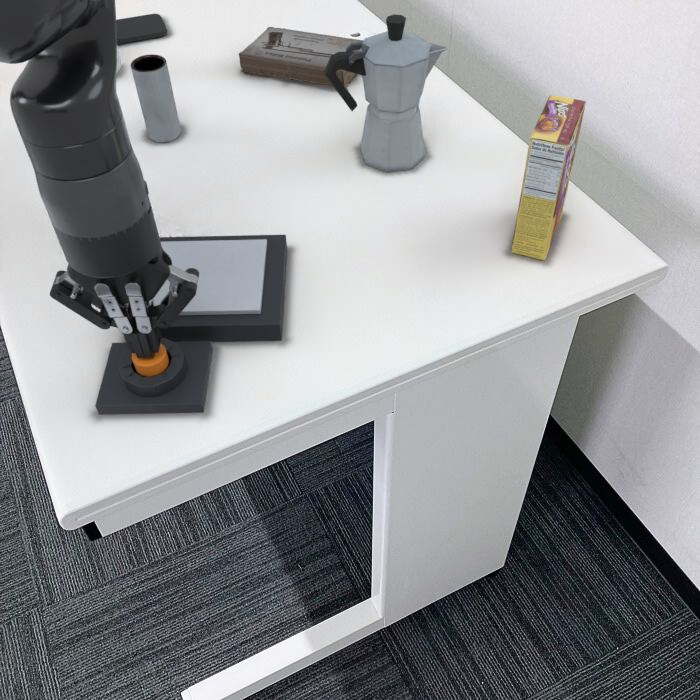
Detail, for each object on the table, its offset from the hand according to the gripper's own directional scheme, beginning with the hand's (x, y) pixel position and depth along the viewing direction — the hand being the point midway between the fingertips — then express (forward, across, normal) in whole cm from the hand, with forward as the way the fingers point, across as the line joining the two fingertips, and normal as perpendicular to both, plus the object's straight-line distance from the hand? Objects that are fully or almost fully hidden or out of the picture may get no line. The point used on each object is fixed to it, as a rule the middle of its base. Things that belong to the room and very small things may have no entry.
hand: (148, 351), depth 70 cm
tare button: (+2, 0, 0) cm, 2 cm away
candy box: (+4, +41, +21) cm, 46 cm away
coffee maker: (+5, +24, +38) cm, 45 cm away
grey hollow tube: (+5, -6, +44) cm, 45 cm away
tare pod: (+4, 0, 0) cm, 4 cm away
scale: (+4, +4, +12) cm, 13 cm away
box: (+5, +13, +61) cm, 63 cm away
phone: (+5, -18, +74) cm, 76 cm away
